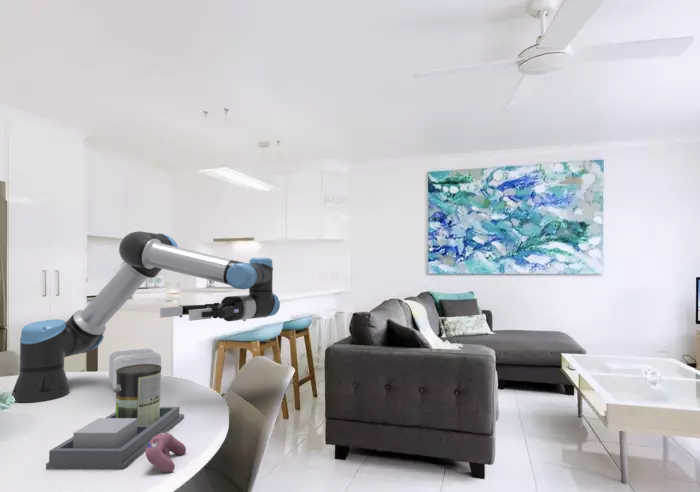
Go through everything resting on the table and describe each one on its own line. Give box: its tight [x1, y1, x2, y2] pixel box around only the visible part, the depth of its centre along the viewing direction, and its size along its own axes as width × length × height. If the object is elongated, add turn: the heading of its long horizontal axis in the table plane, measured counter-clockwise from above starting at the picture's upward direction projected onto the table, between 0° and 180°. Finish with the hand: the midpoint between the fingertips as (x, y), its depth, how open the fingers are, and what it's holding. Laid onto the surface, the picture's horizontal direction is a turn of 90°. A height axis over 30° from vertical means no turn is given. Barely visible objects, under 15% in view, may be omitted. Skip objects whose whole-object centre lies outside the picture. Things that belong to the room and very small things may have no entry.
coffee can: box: [115, 364, 162, 425], centre depth 111 cm, size 10×10×14 cm
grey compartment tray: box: [45, 406, 185, 470], centre depth 104 cm, size 16×30×6 cm, turn 179°
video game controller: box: [145, 431, 187, 473], centre depth 92 cm, size 10×5×7 cm, turn 6°
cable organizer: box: [108, 348, 162, 390], centre depth 153 cm, size 15×11×12 cm
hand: (174, 314), depth 120 cm, fingers open, 13 cm apart
